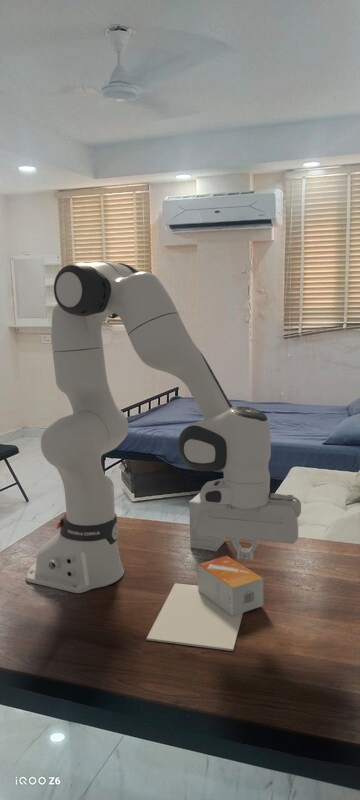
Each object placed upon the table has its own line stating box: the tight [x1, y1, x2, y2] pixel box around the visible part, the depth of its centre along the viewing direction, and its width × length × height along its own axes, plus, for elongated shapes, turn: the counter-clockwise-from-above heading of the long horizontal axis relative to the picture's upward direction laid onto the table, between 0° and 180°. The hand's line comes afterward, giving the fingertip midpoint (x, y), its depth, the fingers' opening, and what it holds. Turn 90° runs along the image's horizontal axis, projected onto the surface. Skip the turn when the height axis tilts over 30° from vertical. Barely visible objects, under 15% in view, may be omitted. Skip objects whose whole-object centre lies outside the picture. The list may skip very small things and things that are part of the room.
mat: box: [146, 582, 244, 652], centre depth 119 cm, size 16×22×1 cm
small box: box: [197, 555, 264, 616], centre depth 124 cm, size 8×6×13 cm
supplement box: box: [188, 492, 226, 552], centre depth 152 cm, size 7×7×13 cm
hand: (245, 558), depth 115 cm, fingers closed
